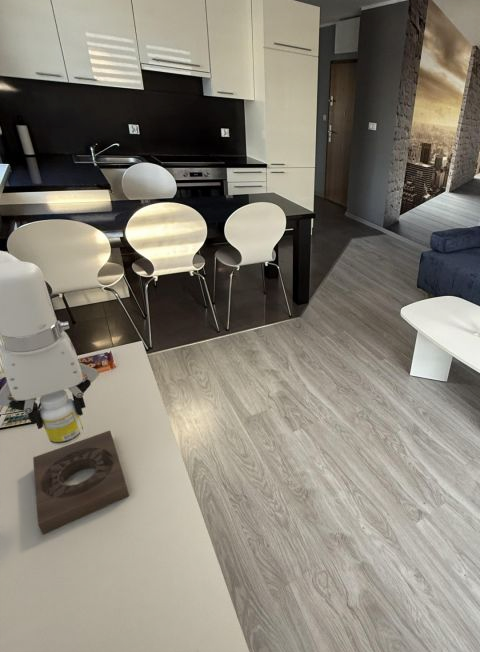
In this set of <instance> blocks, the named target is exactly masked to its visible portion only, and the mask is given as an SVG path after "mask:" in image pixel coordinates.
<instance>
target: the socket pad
mask: <svg viewBox="0 0 480 652" xmlns="http://www.w3.org/2000/svg"><path fill="white" fill-rule="evenodd" d="M32 462H33V476H34V489H35V490H34V491H35V502H36V515H37V517H36V518H37V525H38V528H39V530H40V532H41V535H46V534H47V533H49V532H51V531H54V530H56V529H58V528H61V527H63V526H65V525H68V524H69V523H72V522H74V521H76V520H78V519H81V518H83V517H86V516H88V515H89V514H92V513H95V512H96V511H97V512H98V511H99V510H101V509H104V508H106V507H108V506H110V505H112V504H114V503H117V502H119V501H121V500H123V499H126V498H128V497H130V493H129V489H128V485H127V483H126V478H125V476H124V472H123V469H122V466H121V463H120V459H119V456H118V452H117V449H116V445H115V442H114V439H113V435H112V431H111V430H107V431H103V432H101V433H98V434H96V435H93V436H90V437H87V438H84V439H82V440H79V441H74V442H72V443H69V444H66V445H63V446H62V447H58V448H55V449H53V450H50V451H47V452H44V453H41V454H39V455H36V456H33V458H32ZM87 469H93V470H95V472H94V473H92V475H91V476H90V477H89V478H87V479H86V480H84V481H81V482H79V483H77V484H76V483H75V484H70V485H68V484H65V482H66V481H67V480H68V479H69V478H70V477H71V476H72V475H74V474H75V473H77V472H80V471H83V470H87Z"/></svg>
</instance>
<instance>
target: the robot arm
mask: <svg viewBox="0 0 480 652" xmlns="http://www.w3.org/2000/svg"><path fill="white" fill-rule="evenodd" d="M70 328H71V327H70V324H69V321H60V320H58V318H57V316H56V313H55V310H54V307H53V304H52V300H51V297H50V293H49V290H48V287H47V284H46V280H45V276H44V273H43V272H42V269H41V268H40V267H39V265H37V264H35V263H33V262H30V261H21V260H20V259H19V258H17V257H16V256H14V255H12V254H11V253H10V252H7V251H3V250H0V338H1V340H2V344H1V345H0V358H1V364H2V368H3V373H4V376H5V380H6V382H5V383H4V384H3V386H2V388H1V389H0V406H3V407H10V408H11V409H15V410H18V411H22V412H23V413H24V414H27V416H28V418H29V421H30V423H31V425H34V424H36V427H37V429H38V430H40V429H42V428H44V425H43V422H42V420H41V417H40V408H39V405H38V402H35V398H37V397H38V398H39V397H41V396H43V395H46V394H50V393H53V392H57V391H60V390H66V389H68V391H70V393H71V395H72V400H73V401H74V403H75V406H76V410H77V413H78V415H79V417H80V416H83V415H84V412H83V409H84V408H86V407H87V406H86V403H85V398H84V394H85V392H86V391H87V390H88V389H89V387H90V386H91V385H92V383H94V381H95V380H96V379H97V378H98V377H99V376H100V372H99V370H98V369H96V368H95V367H91V366H90V365H88V364H85V363H83V362H80V360H79V357H78V355H77V352H76V348H75V347H74V345H73V342H72V340H71V338H70V336H69V335H68V333H67V332H66V330H69V329H70ZM83 375H85V377H84V376H83ZM10 395H11V396H10Z"/></svg>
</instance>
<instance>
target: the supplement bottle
mask: <svg viewBox="0 0 480 652" xmlns="http://www.w3.org/2000/svg"><path fill="white" fill-rule="evenodd" d="M39 403H40V406H41V408H39V411H40V417H41V420H42V422H43V428H44V430H45V432H46V436H47V438H48V439H49V442H50V443H51V444H52V445H54V446H66V445H70V444H72V443H74V442H76V440H78V439H79V438H80V437H81V436H82V435H83V432H84V427H83V423H82V420H81V417H80V415H78V413H77V410H76V406H75V403H74V400H73V398H70V397H69V396H68V393H67V391H66V389H64V390H60V391H57V392H53V393H50V394H46V395H43V396H40V398H39Z"/></svg>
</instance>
